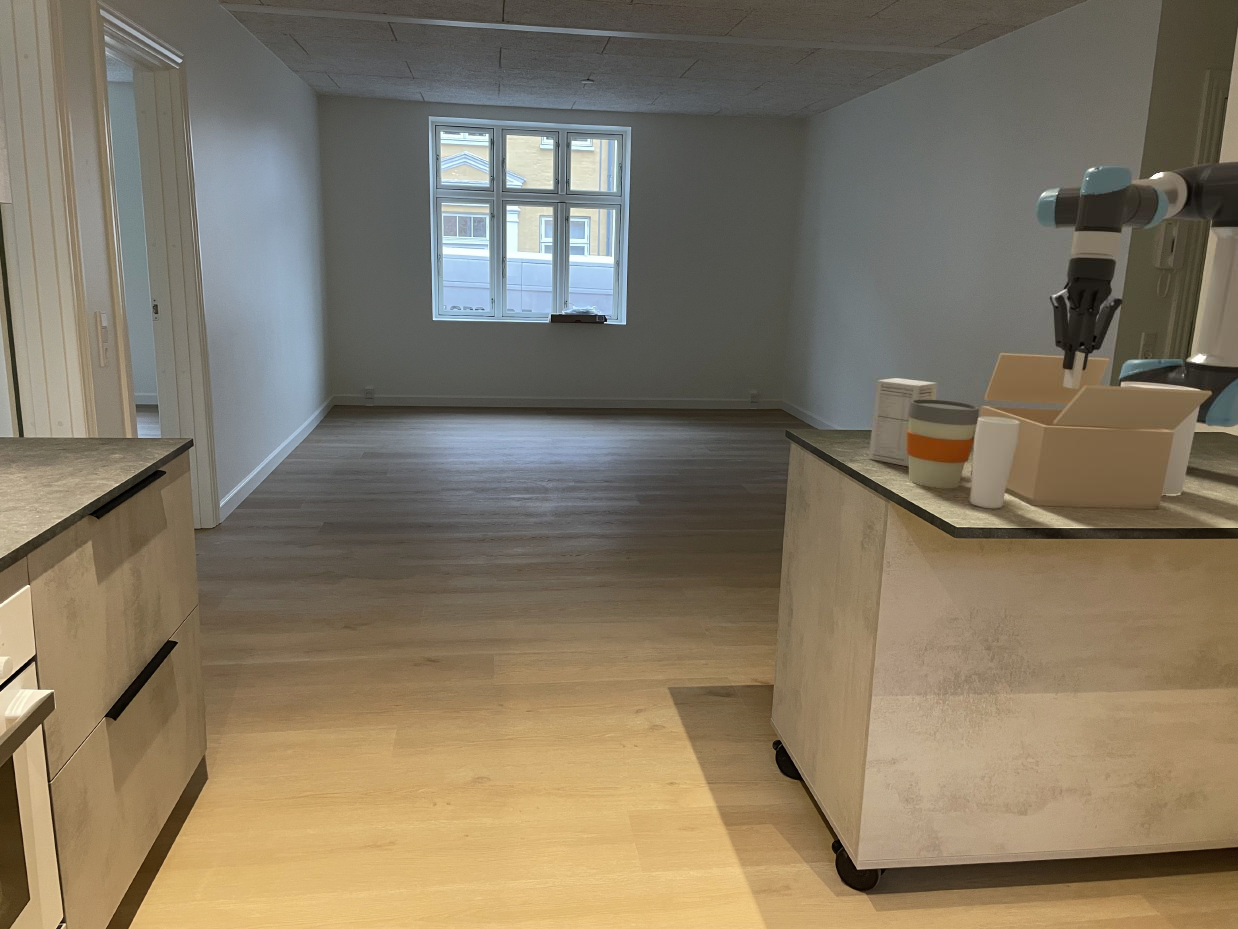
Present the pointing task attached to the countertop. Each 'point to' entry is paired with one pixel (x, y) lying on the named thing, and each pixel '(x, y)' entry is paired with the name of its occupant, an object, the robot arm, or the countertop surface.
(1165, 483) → the canister
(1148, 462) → the carton
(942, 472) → the reusable coffee cup
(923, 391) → the supplement box
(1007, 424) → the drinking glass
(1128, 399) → the flap
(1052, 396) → the flap
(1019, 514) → the countertop surface
